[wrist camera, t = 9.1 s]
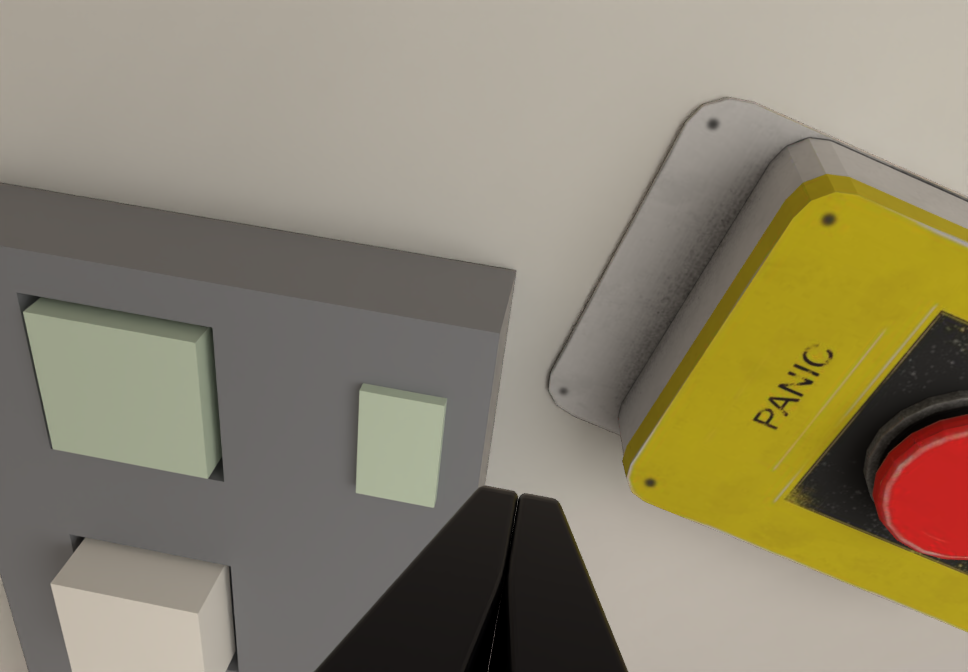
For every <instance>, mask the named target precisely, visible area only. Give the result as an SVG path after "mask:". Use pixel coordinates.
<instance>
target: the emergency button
mask: <svg viewBox="0 0 968 672" xmlns="http://www.w3.org/2000/svg"><path fill="white" fill-rule="evenodd" d="M549 392H550V394H551V396H552V397H553V399H554V401H555V403H556V404H557V406H559V407H560V408H562V409H563V410H565V411H566V412H568V413H569V414H571V415H572V416H574V417H576V418H579V419H581V420H584V421H586V422H589V423H591V424H593V425H596V426H598V427H601V428H603V429H606V430H608V431H611V432H613V433H615V434H618V435H620V436H621V441H622V448H623V455H624V457H623V460H622V462H623V466H624V470H625V474H626V478H627V481H628V484H629V486H630V489H631V492H632V493H633V494H635V495H636V496H637V497H639V498H640V499H642V500H643V501H644V502H646V503H649V504H651V505H654V506H656V507H659V508H661V509H664V510H666V511H669V512H671V513H674V514H676V515H679V516H681V517H684V518H686V519H689V520H691V521H694V522H696V523H698V524H701V525H703V526H706V527H708V528H711V529H713V530H716V531H718V532H721V533H723V534H726V535H728V536H731V537H733V538H736V539H738V540H741V541H743V542H746V543H748V544H750V545H753V546H755V547H758V548H760V549H763V550H765V551H768V552H770V553H773V554H775V555H778V556H780V557H783V558H785V559H788V560H790V561H793V562H795V563H797V564H800V565H802V566H805V567H807V568H810V569H812V570H815V571H817V572H820V573H822V574H825V575H827V576H830V577H832V578H835V579H837V580H840V581H842V582H845V583H847V584H849V585H852V586H854V587H857V588H859V589H862V590H864V591H867V592H869V593H872V594H874V595H877V596H879V597H882V598H884V599H887V600H889V601H892V602H894V603H896V604H899V605H901V606H904V607H906V608H909V609H911V610H914V611H916V612H919V613H921V614H924V615H926V616H929V617H931V618H934V619H936V620H939V621H941V622H944V623H946V624H948V625H951V626H953V627H956V628H958V629H961V630H963V631H966V632H968V197H967V196H965V195H963V194H960V193H958V192H956V191H954V190H951V189H949V188H947V187H945V186H942V185H940V184H938V183H936V182H933V181H931V180H929V179H927V178H924V177H922V176H920V175H918V174H915V173H913V172H911V171H909V170H906V169H904V168H902V167H900V166H897V165H895V164H893V163H891V162H888V161H886V160H884V159H882V158H879V157H877V156H875V155H873V154H870V153H868V152H866V151H864V150H861V149H859V148H857V147H855V146H852V145H850V144H848V143H846V142H844V141H841V140H839V139H837V138H835V137H832V136H830V135H828V134H826V133H823V132H821V131H819V130H817V129H814V128H812V127H810V126H808V125H805V124H803V123H801V122H799V121H796V120H794V119H792V118H790V117H787V116H785V115H783V114H781V113H778V112H776V111H774V110H772V109H769V108H767V107H765V106H763V105H760V104H758V103H756V102H753V101H747V100H742V99H737V98H731V97H726V98H722V99H719V100H715V101H712V102H708V103H705V104H702V105H701V106H700V107H699V108H698V109H697V110H696V111H695V112H694V113H693V114H692V115H691V116H690V117H689V118H688V119H687V120H686V122H685V124H684V125H683V127H682V129H681V131H680V133H679V135H678V137H677V138H676V140H675V142H674V144H673V146H672V148H671V150H670V151H669V153H668V155H667V157H666V159H665V161H664V163H663V164H662V166H661V168H660V170H659V172H658V174H657V176H656V177H655V179H654V181H653V183H652V185H651V187H650V189H649V190H648V192H647V194H646V196H645V198H644V200H643V201H642V203H641V205H640V207H639V209H638V211H637V213H636V214H635V216H634V218H633V220H632V222H631V224H630V226H629V227H628V229H627V231H626V233H625V235H624V237H623V239H622V240H621V242H620V244H619V246H618V248H617V250H616V252H615V253H614V255H613V257H612V259H611V261H610V263H609V265H608V266H607V268H606V270H605V272H604V274H603V276H602V278H601V279H600V281H599V283H598V285H597V287H596V289H595V291H594V292H593V294H592V296H591V298H590V300H589V302H588V304H587V305H586V307H585V309H584V311H583V313H582V315H581V317H580V318H579V320H578V322H577V324H576V326H575V328H574V330H573V331H572V333H571V335H570V337H569V339H568V341H567V343H566V344H565V346H564V348H563V350H562V352H561V354H560V356H559V357H558V359H557V361H556V363H555V365H554V367H553V368H552V370H551V374H550V382H549Z"/></svg>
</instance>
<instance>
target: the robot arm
mask: <svg viewBox="0 0 968 672" xmlns="http://www.w3.org/2000/svg"><path fill="white" fill-rule="evenodd" d="M517 502H518V504H517ZM516 508H517V510H516ZM515 514H516V515H515ZM514 519H515V521H514ZM513 525H514V527H513ZM512 531H513V532H512ZM511 537H512V538H511ZM501 594H502V595H501ZM499 605H500V606H499ZM498 611H499V612H498ZM497 616H498V618H497ZM496 622H497V623H496ZM495 628H496V629H495ZM494 633H495V635H494ZM493 639H494V640H493ZM492 644H493V646H492ZM491 650H492V652H491ZM490 655H491V658H490ZM489 661H490V663H489ZM488 667H489V669H488ZM314 672H628V670H627V668H626V665H625V663H624V660H623V658H622V655H621V653H620V650H619V648H618V645H617V643H616V641H615V638H614V636H613V633H612V631H611V628H610V626H609V623H608V621H607V618H606V616H605V613H604V611H603V608H602V606H601V603H600V601H599V598H598V596H597V593H596V591H595V589H594V586H593V584H592V581H591V579H590V576H589V574H588V571H587V569H586V566H585V564H584V561H583V559H582V556H581V554H580V551H579V549H578V546H577V544H576V541H575V539H574V537H573V534H572V532H571V529H570V527H569V524H568V522H567V519H566V517H565V514H564V512H563V509H562V507H561V505H560V503H559V502H558V501H557V500H556V499H553V498H548V497H543V496H538V495H533V494H527V493H524V494H522V495H521V496H520V497H519V499H518V496H517V494H516V493H515V492H514V491H511V490H506V489H501V488H495V487H490V486H481V487H479V488H478V489H477V490H476V491H475V492H474V493H473V494H472V495H471V496H470V497H469V498H468V499H467V501H466V502H465V503H464V504H463V505H462V506H461V507H460V508H459V510H458V511H457V512H456V513H455V514H454V515H453V516H452V517H451V518H450V520H449V521H448V522H447V523H446V524H445V525H444V526H443V527H442V529H441V530H440V531H439V532H438V533H437V534H436V535H435V536H434V538H433V539H432V540H431V541H430V542H429V543H428V544H427V545H426V546H425V548H424V549H423V550H422V551H421V552H420V553H419V554H418V555H417V557H416V558H415V559H414V560H413V561H412V562H411V563H410V564H409V566H408V567H407V568H406V569H405V570H404V571H403V572H402V573H401V574H400V576H399V577H398V578H397V579H396V580H395V581H394V582H393V583H392V585H391V586H390V587H389V588H388V589H387V590H386V591H385V592H384V594H383V595H382V596H381V597H380V598H379V599H378V600H377V601H376V603H375V604H374V605H373V606H372V607H371V608H370V609H369V610H368V611H367V613H366V614H365V615H364V616H363V617H362V618H361V619H360V620H359V622H358V623H357V624H356V625H355V626H354V627H353V628H352V629H351V631H350V632H349V633H348V634H347V635H346V636H345V637H344V638H343V639H342V641H341V642H340V643H339V644H338V645H337V646H336V647H335V648H334V650H333V651H332V652H331V653H330V654H329V655H328V656H327V657H326V659H325V660H324V661H323V662H322V663H321V664H320V665H319V666H318V667H317V669H316V670H315V671H314Z"/></svg>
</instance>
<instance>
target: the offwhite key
mask: <svg viewBox="0 0 968 672" xmlns="http://www.w3.org/2000/svg"><path fill="white" fill-rule="evenodd" d="M50 584H51V588H52V592H53V596H54V600H55V604H56V608H57V612H58V616H59V620H60V625H61V629H62V633H63V637H64V641H65V645H66V649H67V653H68V657H69V661H70V665H71V669H72V672H226V670H227V668H228V666H229V663H230V661H231V659H232V657H233V655H234V653H235V638H234V625H233V612H232V600H231V587H230V574H229V566H226V565H221V564H216V563H211V562H206V561H201V560H196V559H191V558H186V557H181V556H176V555H171V554H166V553H161V552H156V551H151V550H146V549H141V548H136V547H131V546H126V545H121V544H116V543H111V542H106V541H101V540H96V539H91V538H86V537H85V539H84V540H83V541H82V543H81V544H80V545H79V547H78V548H77V549H76V550H75V552H74V553H73V554H72V556H71V557H70V558H69V560H68V561H67V562H66V564H65V565H64V566H63V568H62V569H61V570H60V572H59V573H58V574H57V576H56V577H55V578H54V579H53V581H52V582H51V583H50Z"/></svg>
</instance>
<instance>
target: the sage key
mask: <svg viewBox="0 0 968 672" xmlns="http://www.w3.org/2000/svg"><path fill="white" fill-rule="evenodd" d="M23 314H24V319H25V323H26V328H27V332H28V337H29V342H30V346H31V351H32V355H33V360H34V365H35V369H36V374H37V378H38V383H39V388H40V392H41V397H42V401H43V406H44V411H45V415H46V420H47V424H48V429H49V434H50V438H51V443H52V447H53V449H55V450H60V451H65V452H71V453H76V454H81V455H86V456H91V457H97V458H102V459H107V460H112V461H117V462H123V463H128V464H133V465H138V466H143V467H148V468H154V469H159V470H164V471H169V472H174V473H180V474H185V475H190V476H195V477H200V478H206V479H208V478H209V476H210V475H211V473H212V471H213V470H214V468H215V467H216V465H217V464H218V462H219V461H220V459H221V457H222V446H221V433H220V419H219V406H218V393H217V380H216V367H215V354H214V341H213V328H212V327H206V326H200V325H195V324H189V323H184V322H178V321H173V320H167V319H161V318H156V317H150V316H145V315H139V314H134V313H128V312H122V311H117V310H111V309H106V308H100V307H95V306H89V305H83V304H78V303H72V302H67V301H61V300H56V299H50V298H44V297H41V298H39V299H38V300H37V301H36V302H34V303H33V304H32V305H31V306H29V307H28V308H27V309H26V310H25V311H23Z"/></svg>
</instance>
